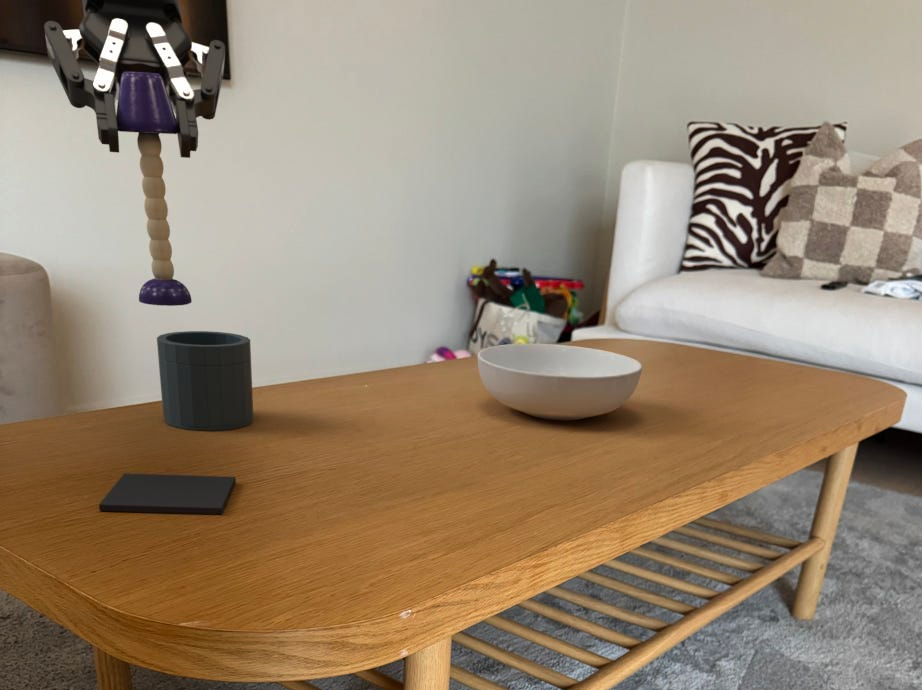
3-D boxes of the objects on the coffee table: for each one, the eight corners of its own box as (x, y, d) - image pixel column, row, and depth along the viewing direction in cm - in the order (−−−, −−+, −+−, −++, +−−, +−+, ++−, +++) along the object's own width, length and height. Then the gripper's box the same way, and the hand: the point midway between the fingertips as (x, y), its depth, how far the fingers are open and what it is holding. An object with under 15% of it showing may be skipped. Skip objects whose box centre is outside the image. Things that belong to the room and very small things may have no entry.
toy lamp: (150, 307, 77) (131, 68, 70) (120, 299, 80) (99, 68, 73) (201, 304, 81) (189, 76, 73) (171, 297, 83) (156, 76, 76)
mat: (99, 511, 80) (98, 504, 80) (124, 479, 88) (123, 473, 88) (221, 514, 81) (221, 508, 81) (235, 483, 89) (235, 476, 89)
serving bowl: (441, 403, 124) (443, 348, 121) (555, 389, 137) (559, 339, 134) (554, 440, 111) (560, 380, 108) (668, 421, 123) (677, 366, 120)
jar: (156, 428, 104) (148, 343, 100) (173, 408, 113) (166, 329, 109) (247, 432, 106) (243, 348, 102) (257, 411, 114) (254, 333, 110)
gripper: (26, -80, 72) (44, 97, 68) (220, -52, 77) (249, 115, 73) (38, 10, 79) (54, 177, 75) (216, 31, 84) (241, 189, 79)
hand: (150, 145), depth 74 cm, fingers closed on toy lamp, 4 cm apart
